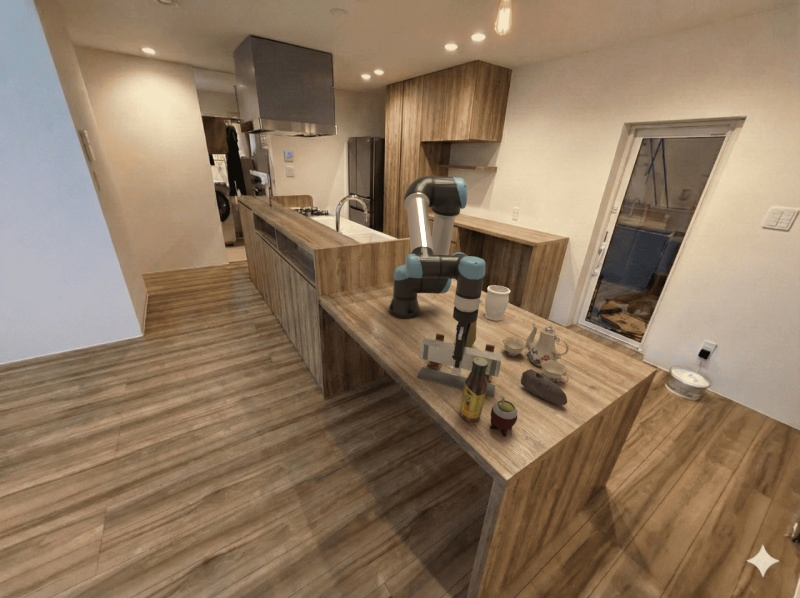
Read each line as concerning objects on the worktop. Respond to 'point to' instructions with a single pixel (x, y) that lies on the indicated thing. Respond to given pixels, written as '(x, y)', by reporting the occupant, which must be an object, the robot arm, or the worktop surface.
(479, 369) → the sauce bottle
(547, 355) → the chinaware
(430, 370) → the mat
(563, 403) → the perforated stone tool
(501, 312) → the jar
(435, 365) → the standard left
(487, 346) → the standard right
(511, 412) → the mate gourd
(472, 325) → the squeeze bottle
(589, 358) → the worktop surface
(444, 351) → the rail
